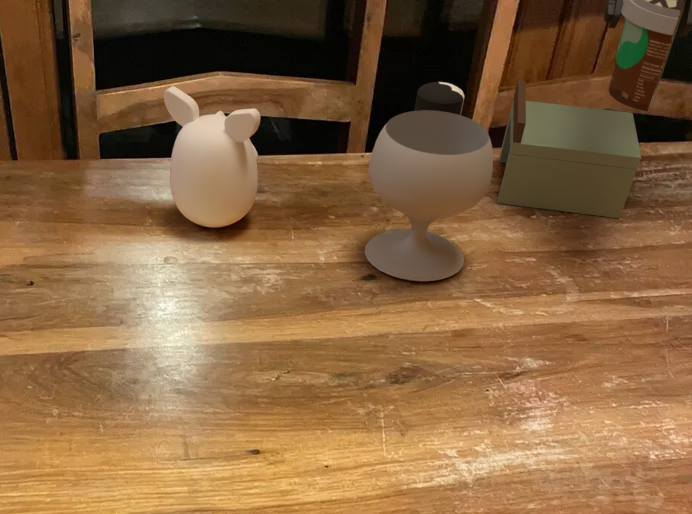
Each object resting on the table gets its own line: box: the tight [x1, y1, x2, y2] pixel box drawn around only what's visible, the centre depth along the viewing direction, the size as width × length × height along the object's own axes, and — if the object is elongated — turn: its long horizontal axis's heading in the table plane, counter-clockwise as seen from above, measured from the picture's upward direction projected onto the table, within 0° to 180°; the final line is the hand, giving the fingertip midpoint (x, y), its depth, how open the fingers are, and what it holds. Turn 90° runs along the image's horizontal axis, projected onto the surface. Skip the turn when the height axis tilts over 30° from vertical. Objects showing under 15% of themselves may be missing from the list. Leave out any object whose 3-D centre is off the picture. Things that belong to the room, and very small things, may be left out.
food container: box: [608, 0, 686, 112], centre depth 102 cm, size 12×6×10 cm, turn 156°
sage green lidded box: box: [497, 79, 642, 219], centre depth 124 cm, size 16×14×10 cm
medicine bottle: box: [413, 81, 465, 116], centre depth 124 cm, size 7×7×12 cm
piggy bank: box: [163, 85, 261, 228], centre depth 114 cm, size 12×12×15 cm
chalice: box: [364, 110, 494, 282], centre depth 109 cm, size 14×14×15 cm
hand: (649, 28), depth 100 cm, fingers closed on food container, 7 cm apart
